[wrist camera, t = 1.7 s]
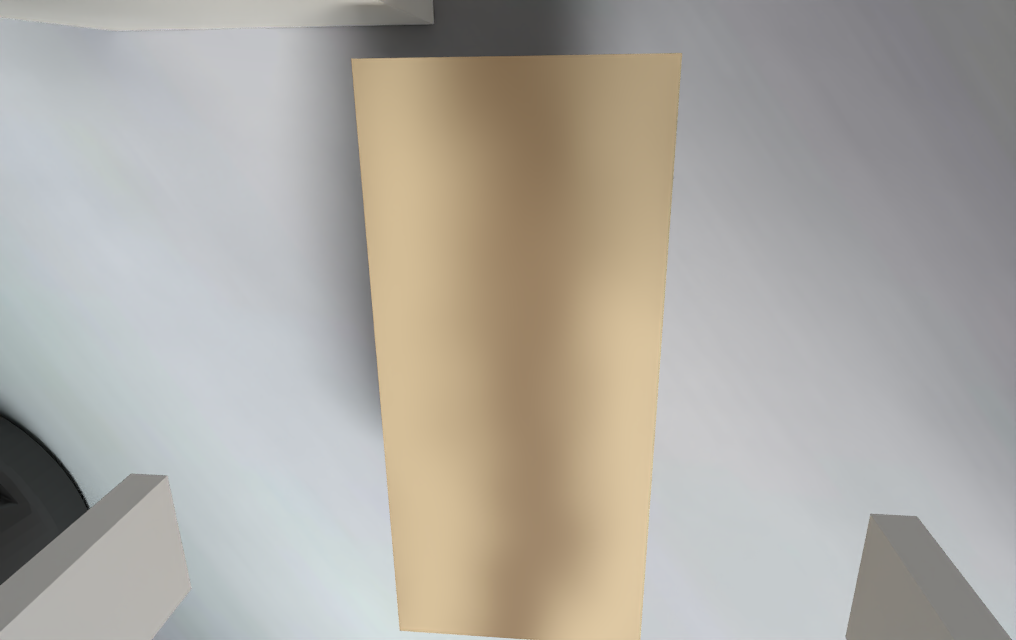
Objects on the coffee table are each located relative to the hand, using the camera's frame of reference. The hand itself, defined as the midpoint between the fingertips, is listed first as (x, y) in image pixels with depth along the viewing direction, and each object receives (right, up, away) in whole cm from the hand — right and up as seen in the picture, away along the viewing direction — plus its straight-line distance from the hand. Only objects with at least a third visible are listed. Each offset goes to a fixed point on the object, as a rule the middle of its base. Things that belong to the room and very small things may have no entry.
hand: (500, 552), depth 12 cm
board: (+1, +3, +9) cm, 10 cm away
